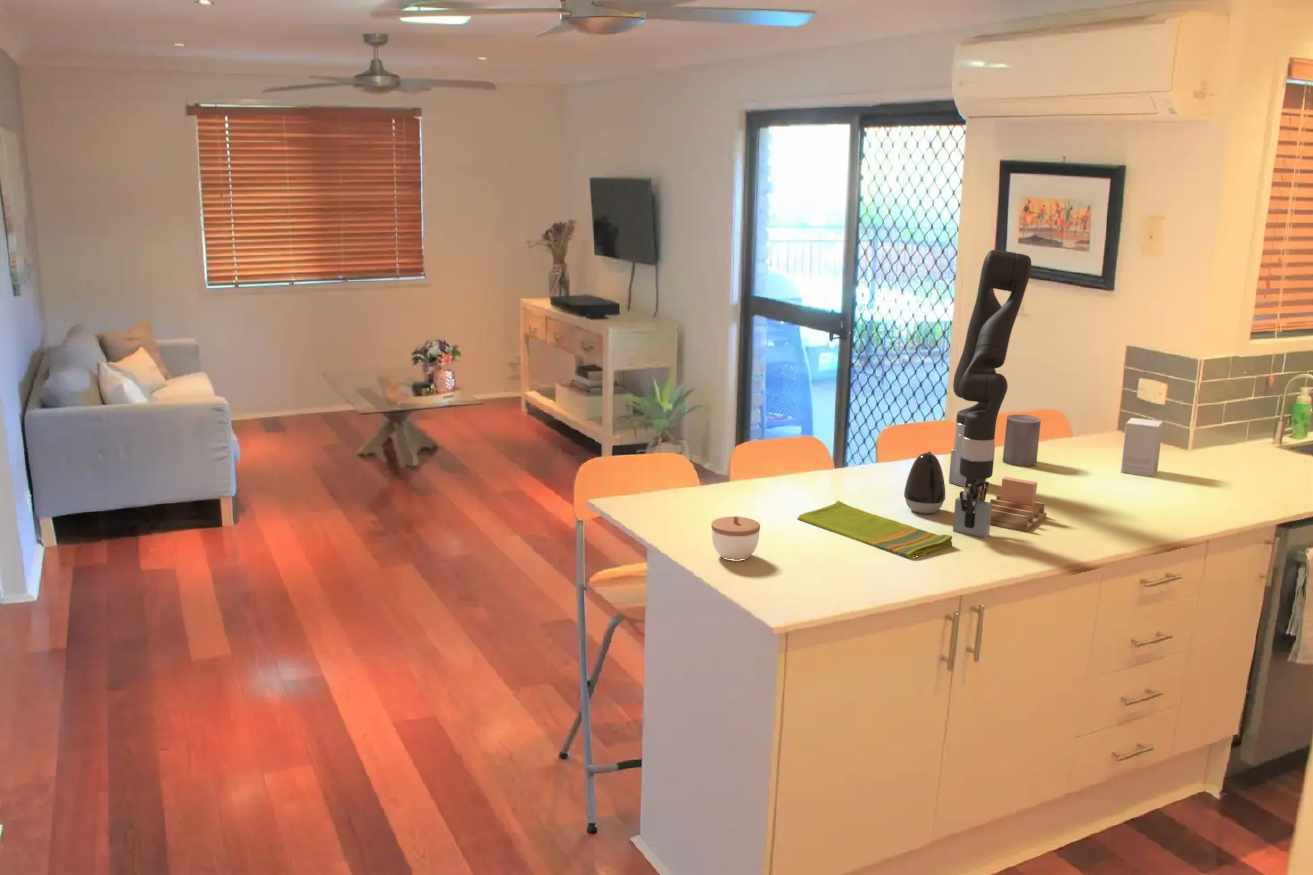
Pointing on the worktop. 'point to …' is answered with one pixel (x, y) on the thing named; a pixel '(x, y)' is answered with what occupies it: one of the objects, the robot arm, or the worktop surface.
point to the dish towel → (876, 530)
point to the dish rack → (1016, 514)
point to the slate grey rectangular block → (981, 519)
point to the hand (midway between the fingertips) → (971, 525)
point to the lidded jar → (735, 536)
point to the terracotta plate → (1018, 491)
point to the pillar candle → (1021, 440)
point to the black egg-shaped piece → (925, 485)
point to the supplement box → (1141, 446)
